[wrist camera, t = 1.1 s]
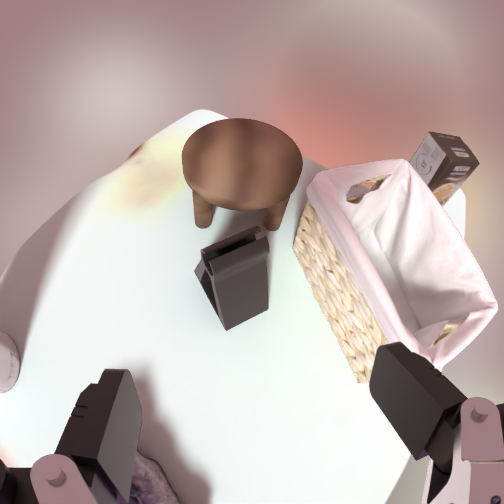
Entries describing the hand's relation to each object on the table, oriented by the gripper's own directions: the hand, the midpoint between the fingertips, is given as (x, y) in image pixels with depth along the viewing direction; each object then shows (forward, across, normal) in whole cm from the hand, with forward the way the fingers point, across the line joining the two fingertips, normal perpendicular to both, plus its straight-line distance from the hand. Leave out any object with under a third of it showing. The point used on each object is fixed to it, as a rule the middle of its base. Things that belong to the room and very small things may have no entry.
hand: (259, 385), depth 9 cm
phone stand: (+29, -1, +9) cm, 30 cm away
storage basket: (+28, -19, +11) cm, 35 cm away
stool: (+39, -3, -3) cm, 39 cm away
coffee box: (+39, -35, -1) cm, 52 cm away
